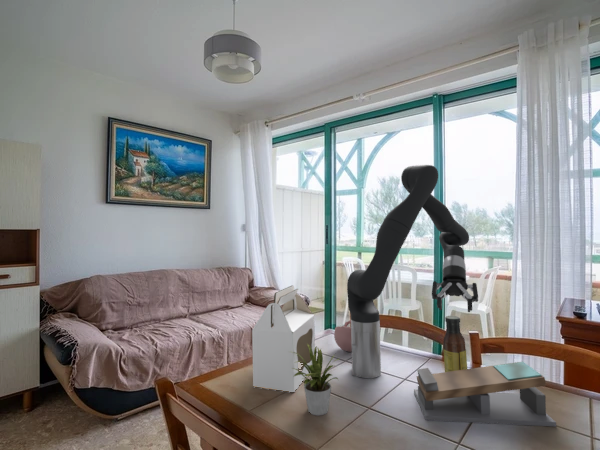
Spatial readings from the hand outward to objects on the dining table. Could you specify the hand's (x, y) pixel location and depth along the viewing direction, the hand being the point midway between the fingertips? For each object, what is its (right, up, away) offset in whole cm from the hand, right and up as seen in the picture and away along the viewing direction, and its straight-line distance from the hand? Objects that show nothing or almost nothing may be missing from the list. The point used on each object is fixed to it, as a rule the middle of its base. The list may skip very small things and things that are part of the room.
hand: (454, 309), depth 111 cm
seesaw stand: (-5, -19, -24) cm, 31 cm away
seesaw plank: (-5, -13, -24) cm, 28 cm away
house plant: (-47, -20, -22) cm, 56 cm away
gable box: (-55, -21, -1) cm, 59 cm away
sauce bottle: (-4, -20, -10) cm, 23 cm away
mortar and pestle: (-31, -21, +20) cm, 43 cm away
